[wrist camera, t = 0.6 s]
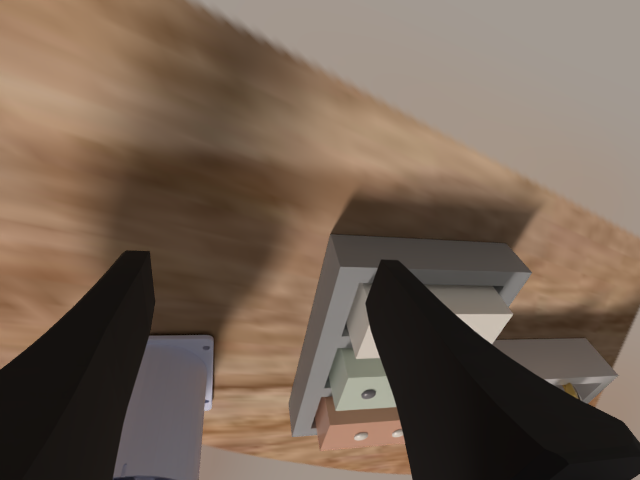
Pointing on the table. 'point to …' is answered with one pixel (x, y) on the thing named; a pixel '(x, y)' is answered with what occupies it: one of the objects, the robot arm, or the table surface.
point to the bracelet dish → (562, 363)
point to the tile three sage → (359, 382)
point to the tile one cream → (463, 300)
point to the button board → (360, 267)
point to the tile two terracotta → (356, 427)
